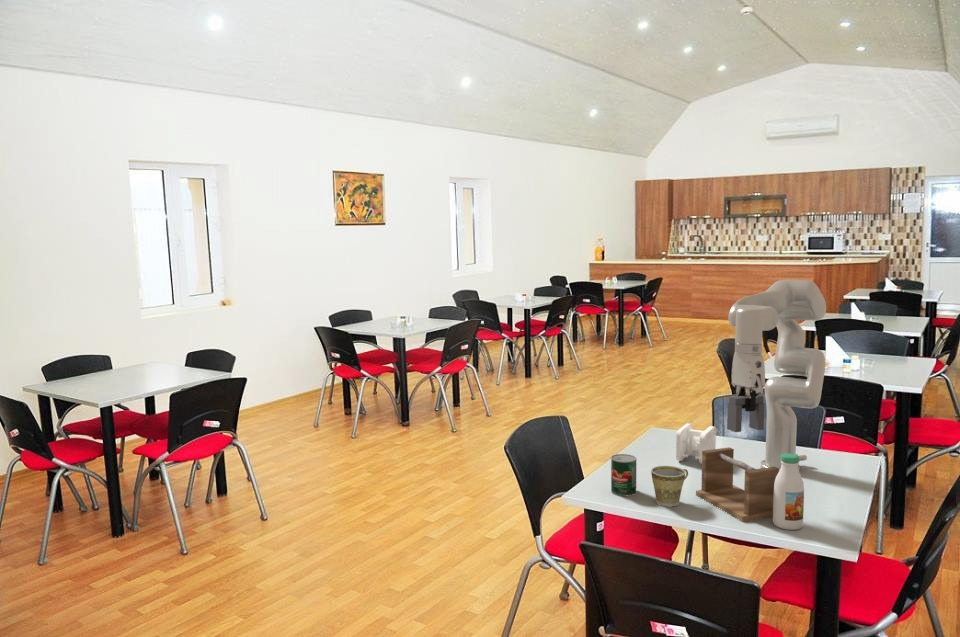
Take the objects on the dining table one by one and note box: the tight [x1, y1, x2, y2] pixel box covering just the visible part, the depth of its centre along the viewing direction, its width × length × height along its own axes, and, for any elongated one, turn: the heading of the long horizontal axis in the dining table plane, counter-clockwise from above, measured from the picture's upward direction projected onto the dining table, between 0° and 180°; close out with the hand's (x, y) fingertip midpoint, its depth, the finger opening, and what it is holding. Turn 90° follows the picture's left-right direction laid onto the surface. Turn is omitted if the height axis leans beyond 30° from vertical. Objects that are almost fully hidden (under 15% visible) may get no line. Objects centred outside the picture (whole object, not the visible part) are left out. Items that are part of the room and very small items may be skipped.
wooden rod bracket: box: [695, 446, 779, 523], centre depth 215 cm, size 22×14×14 cm, turn 18°
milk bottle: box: [772, 453, 805, 531], centre depth 199 cm, size 8×8×20 cm
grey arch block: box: [726, 394, 766, 433], centre depth 217 cm, size 10×4×10 cm, turn 108°
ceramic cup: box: [650, 465, 689, 507], centre depth 219 cm, size 13×10×10 cm
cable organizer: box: [675, 422, 718, 465], centre depth 258 cm, size 15×11×12 cm
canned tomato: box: [610, 453, 637, 497], centre depth 228 cm, size 8×8×11 cm
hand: (746, 409), depth 217 cm, fingers closed on grey arch block, 3 cm apart
